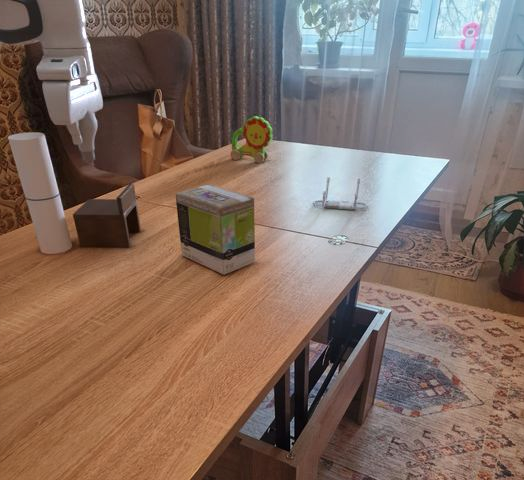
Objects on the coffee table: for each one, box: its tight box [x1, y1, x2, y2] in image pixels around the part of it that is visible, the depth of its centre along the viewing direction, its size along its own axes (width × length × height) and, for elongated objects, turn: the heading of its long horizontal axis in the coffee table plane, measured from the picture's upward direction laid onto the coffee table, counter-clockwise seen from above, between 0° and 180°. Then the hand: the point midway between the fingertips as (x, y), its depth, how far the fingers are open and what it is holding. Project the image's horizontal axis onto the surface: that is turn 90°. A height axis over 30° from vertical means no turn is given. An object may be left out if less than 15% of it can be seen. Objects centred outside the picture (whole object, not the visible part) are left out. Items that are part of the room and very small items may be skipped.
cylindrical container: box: [7, 131, 73, 255], centre depth 108 cm, size 7×7×25 cm
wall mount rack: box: [312, 176, 368, 211], centre depth 138 cm, size 16×14×6 cm
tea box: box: [175, 183, 256, 276], centre depth 105 cm, size 15×10×15 cm, turn 45°
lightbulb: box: [77, 110, 98, 164], centre depth 102 cm, size 6×6×11 cm
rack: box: [72, 182, 142, 249], centre depth 116 cm, size 12×11×12 cm
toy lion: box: [230, 115, 274, 164], centre depth 176 cm, size 16×5×15 cm, turn 66°
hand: (85, 140), depth 102 cm, fingers closed on lightbulb, 6 cm apart
